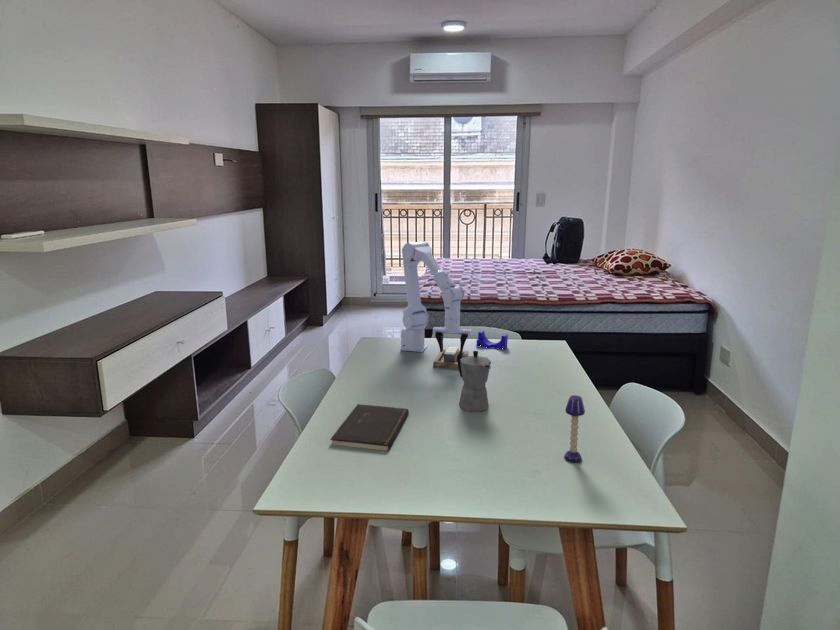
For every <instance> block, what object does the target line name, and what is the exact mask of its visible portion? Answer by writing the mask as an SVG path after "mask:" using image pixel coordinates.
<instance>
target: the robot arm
mask: <svg viewBox="0 0 840 630" xmlns="http://www.w3.org/2000/svg"><path fill="white" fill-rule="evenodd" d="M401 253H402V255H401V256H402V265H403V274H404V275H403V276H404V281H405V282H404V283H405V290H406V300H407V301H406V302H407V306H406V307H405V308H404V309H403V311H402V313H403V314H402V315H403V316H402V323H403V326H404V327H402V328H401V331H400V351H403V352H405V351H407V352H418V353H421V352H422V353H423V352H424V351H425V350H426V348H427V346H428V345H427V344H425V329H426V328H427V325H428V324H429V321H430V317H429V313H428V312H427V307H426V306H424V305H423V304H422V298H421V291H420V290H421V289H420V282H419V273H418V265H419V264H420V263H421V262H422V263H424V265H425V266H426V267H427V268H428V269H429V271H430V272H431V274H432V275H433V281H434V282H435V285H436V286H437V287H438V288H439V289H440V291H441V292H442V293H441V298H442V300H443V305H444V326H433V328H432V334H434V337H435V339H436V341H437V343H438V346H439V352H442V351H443V349H444V335H445V334H446V335H460V337H459V339H460V345H459V346H460V348H459V351H460V352H463V351H464V347H465V343H466V341H467V339H468V338H469V337H471V336H472V329H468V328H463V327H462V328H461V327H460V323H461V321H460V319H461V301H462V300H463V299H464V296H465V292H464V290H463V287H462V286H461V285H459V284H457V283H455V282H454V280H453V279H452V278H451V276H450V275H449V272H448V271H446V270H443V269H441V267H440V265H439V264H438V262H437V260H436V258H435V257H434V255H433V253H432V247H431V246H430V244H429V243H428V242H427V241H426V240H423V241H417V242H406V243H405V244H404V245H403V246H402V248H401Z"/></svg>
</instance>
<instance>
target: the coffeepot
mask: <svg viewBox="0 0 840 630" xmlns="http://www.w3.org/2000/svg"><path fill="white" fill-rule="evenodd" d="M472 353H473V355H470V354H469V353H468V354H464V353H462V352H460V353H459V354H458V355H457V362H458V368H459V369H458V372H459V376H460V378H461V380H462V381H463V385H462V387H461V393H460V397H459V401H458V404H459V406H460V408H461V409H462V410H464V411H466V412H471V413H478V412H479V413H480V412H483V411H486V410H487V409H488V408H489V406H490V405H489V398H488V391H487V386H486V383H487V382H488V378H489V374H490V373H489V372H490V370H491V368H492V367H491V365H492V363H491V362H492V361H491V360H490V359H489V357H486V356H485V357H484V356H481V355H479V351H478V350H473V351H472Z"/></svg>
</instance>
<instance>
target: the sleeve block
mask: <svg viewBox="0 0 840 630" xmlns="http://www.w3.org/2000/svg"><path fill="white" fill-rule="evenodd" d="M459 351H460V348H459V346H448V347H447V348H446V351H445V353H444V362H456V360H457V355H458V353H459Z"/></svg>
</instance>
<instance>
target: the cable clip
mask: <svg viewBox="0 0 840 630" xmlns="http://www.w3.org/2000/svg"><path fill="white" fill-rule="evenodd" d="M477 333H478V334H477V339H476V345H475V346H476V347H477V346H480V345H481V347H480V348H483V347H487V348H486V349H489V348H490V349H492V348H491V347H494V348H493V349H496V348H499V349H498V350H502V348H503V349H504V350H503V351H505V350H506V349H508V341H509V340H508V337H509V335H508V334H506V333H504V334H502V335H501V339H500V340H499V342H493V341H490V340H489V339H488V337H486V334H485V330H479V331H478V332H477Z"/></svg>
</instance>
